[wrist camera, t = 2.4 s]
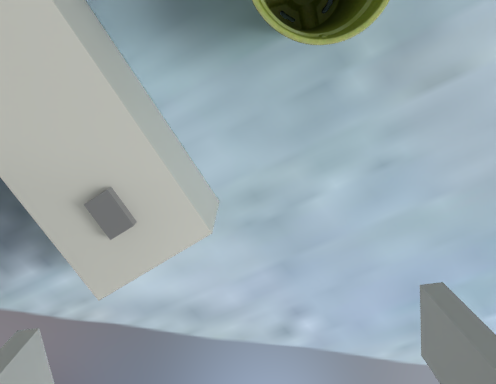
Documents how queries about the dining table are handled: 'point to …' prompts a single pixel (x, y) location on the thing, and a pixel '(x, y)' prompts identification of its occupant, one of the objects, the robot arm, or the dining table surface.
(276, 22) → the plant pot
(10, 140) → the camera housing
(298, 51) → the dining table surface
